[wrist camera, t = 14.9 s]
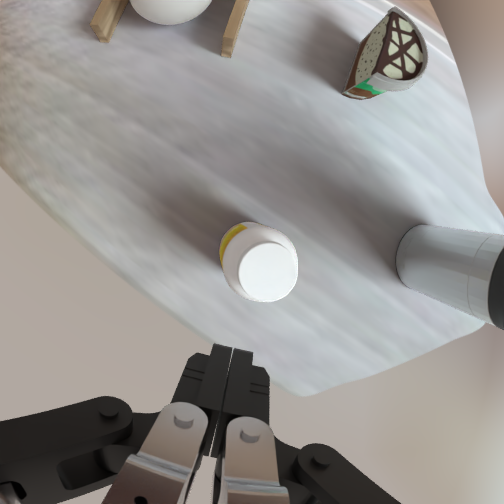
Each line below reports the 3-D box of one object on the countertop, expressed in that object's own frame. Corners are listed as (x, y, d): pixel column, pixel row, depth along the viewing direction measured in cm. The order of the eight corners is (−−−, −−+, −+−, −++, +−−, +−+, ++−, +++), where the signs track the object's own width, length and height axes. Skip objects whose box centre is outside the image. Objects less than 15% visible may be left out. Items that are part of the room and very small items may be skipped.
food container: (378, 125, 37) (423, 107, 27) (338, 103, 36) (375, 76, 26) (397, 58, 36) (436, 31, 26) (361, 36, 35) (395, 3, 25)
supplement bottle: (219, 279, 37) (224, 315, 24) (218, 221, 36) (223, 229, 23) (275, 278, 38) (307, 312, 25) (277, 221, 37) (311, 229, 24)
